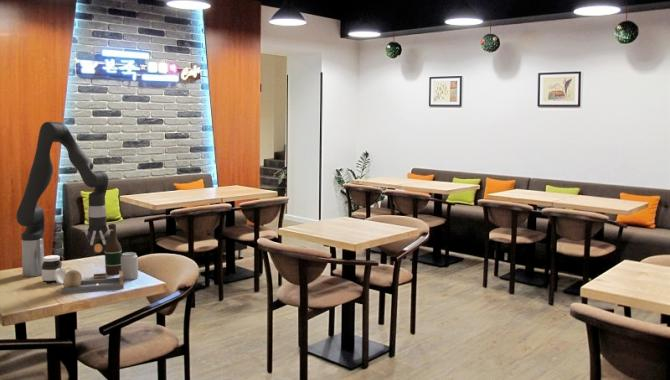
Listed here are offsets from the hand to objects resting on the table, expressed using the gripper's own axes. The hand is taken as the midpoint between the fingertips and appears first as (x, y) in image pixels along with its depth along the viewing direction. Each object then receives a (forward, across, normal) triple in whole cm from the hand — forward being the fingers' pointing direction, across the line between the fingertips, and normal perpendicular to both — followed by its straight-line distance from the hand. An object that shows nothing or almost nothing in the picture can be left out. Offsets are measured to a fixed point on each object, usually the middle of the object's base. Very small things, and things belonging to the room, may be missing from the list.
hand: (98, 252), depth 285 cm
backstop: (+14, -10, +10) cm, 19 cm away
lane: (+14, +3, +10) cm, 17 cm away
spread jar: (+14, +19, -5) cm, 24 cm away
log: (+14, +10, +10) cm, 20 cm away
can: (+14, -13, -2) cm, 19 cm away
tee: (+14, 0, 0) cm, 14 cm away
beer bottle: (+14, -6, -13) cm, 20 cm away
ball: (-2, 0, 0) cm, 2 cm away
